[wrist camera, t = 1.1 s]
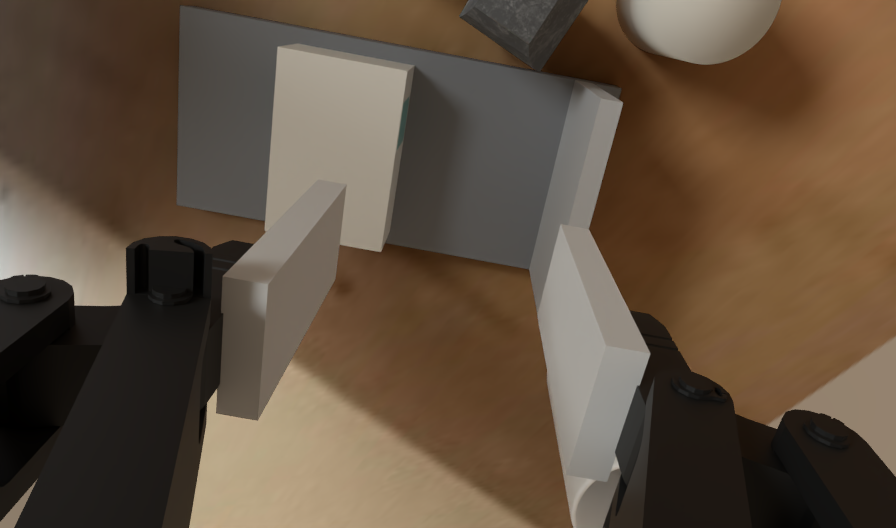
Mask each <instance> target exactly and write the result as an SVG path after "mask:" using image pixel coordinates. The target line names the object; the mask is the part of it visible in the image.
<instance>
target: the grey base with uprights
mask: <svg viewBox="0 0 896 528" xmlns="http://www.w3.org/2000/svg"><path fill="white" fill-rule="evenodd" d="M297 43H298V44H303V45H308V46H314V47H319V48H324V49H330V50H335V51H340V52H346V53H351V54H356V55H362V56H367V57H372V58H378V59H383V60H388V61H394V62H399V63H404V64H410V65H415V67H414V73H413V80H412V87H411V93H410V100H409V107H408V113H407V120H406V127H405V133H404V140H403V147H402V153H401V160H400V167H399V173H398V180H397V187H396V193H395V200H394V207H393V214H392V220H391V227H390V232H389V234H388V237H387V239H386V241H385V243H388V244H393V245H399V246H404V247H410V248H415V249H421V250H426V251H431V252H437V253H442V254H448V255H453V256H459V257H464V258H470V259H475V260H481V261H486V262H492V263H497V264H503V265H508V266H514V267H519V268H525V269H529V271H530V276H531V282H532V287H533V293H534V298H535V303H536V309H537V314H538V311H539V307H540V303H541V299H542V295H543V291H544V287H545V283H546V279H547V275H548V271H549V267H550V264H551V260H552V256H553V252H554V248H555V244H556V240H557V236H558V232H559V228H560V224H563V225H569V226H574V227H580V228H585V229H589V226H590V223H591V219H592V216H593V212H594V208H595V205H596V201H597V197H598V194H599V190H600V186H601V183H602V179H603V175H604V172H605V168H606V164H607V161H608V157H609V153H610V150H611V146H612V142H613V139H614V135H615V131H616V128H617V124H618V120H619V117H620V113H621V110H622V106H623V102H622V101H620V100H619V97H620V93H621V88H620V87H618V86H616V85H610V84H605V83H600V82H594V81H589V80H584V79H579V78H573V77H568V76H563V75H557V74H552V73H547V72H541V71H540V72H538V71H536V70H531V69H526V68H520V67H515V66H510V65H504V64H499V63H494V62H488V61H483V60H478V59H472V58H467V57H462V56H457V55H451V54H446V53H441V52H435V51H430V50H425V49H419V48H414V47H409V46H404V45H398V44H393V43H388V42H382V41H377V40H372V39H366V38H361V37H356V36H350V35H345V34H340V33H335V32H329V31H324V30H319V29H313V28H308V27H303V26H297V25H292V24H287V23H282V22H276V21H271V20H266V19H260V18H255V17H250V16H244V15H239V14H234V13H228V12H223V11H218V10H213V9H207V8H202V7H197V6H183V5H180V31H179V92H178V153H177V205H180V206H185V207H190V208H196V209H201V210H207V211H212V212H218V213H223V214H229V215H234V216H240V217H245V218H251V219H256V220H262V221H265V216H266V202H267V188H268V174H269V160H270V146H271V132H272V118H273V104H274V90H275V76H276V62H277V48H278V47H279V46H285V45H291V44H297Z"/></svg>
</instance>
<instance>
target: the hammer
mask: <svg viewBox="0 0 896 528" xmlns="http://www.w3.org/2000/svg"><path fill="white" fill-rule="evenodd" d="M587 1H588V0H469V1H468V2H467V4H466V5H465V7H464V9H463V10H462V12H461V14H460V15H459V16H460V18H462V19H463V20H465V21H466V22H468V23H469V24H470V25H472V26H473V27H475V28H476V29H478V30H479V31H480V32H482V33H483V34H485V35H486V36H488V37H489V38H490V39H492V40H493V41H495V42H496V43H497V44H499V45H500V46H502V47H503V48H505V49H506V50H507V51H509V52H510V53H512V54H513V55H515V56H516V57H517V58H519V59H520V60H522V61H523V62H525V63H526V64H527V65H529V66H530V67H532V68H533V69H535V70H536V71H538V72H540V71H541V69H542V68H543V66H544V65H545V63H546V62H547V60H548V59H549V57H550V56H551V55H552V53H553V52H554V50H555V49H556V47H557V46H558V44H559V43H560V41H561V40H562V38H563V37H564V35H565V34H566V32H567V31H568V29H569V28H570V26H571V25H572V24H573V22H574V21H575V19H576V18H577V16H578V15H579V13H580V12H581V10H582V9H583V7H584V6H585V4H586V3H587Z"/></svg>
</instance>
